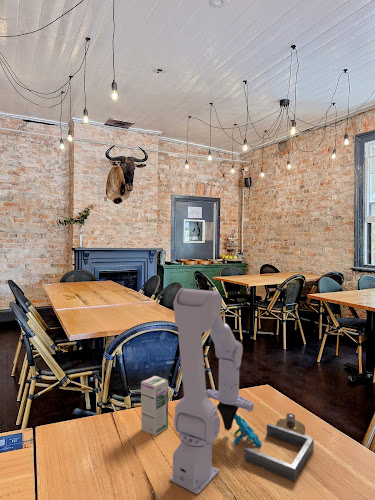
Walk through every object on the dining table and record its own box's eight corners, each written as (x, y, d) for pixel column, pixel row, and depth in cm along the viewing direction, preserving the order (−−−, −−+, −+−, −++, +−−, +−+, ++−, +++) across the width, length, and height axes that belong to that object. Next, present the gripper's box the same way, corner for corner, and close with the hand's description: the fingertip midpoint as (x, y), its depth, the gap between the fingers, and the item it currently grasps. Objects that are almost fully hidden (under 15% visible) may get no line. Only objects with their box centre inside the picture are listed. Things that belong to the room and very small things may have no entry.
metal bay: (294, 481, 79) (294, 469, 79) (244, 461, 87) (244, 449, 86) (313, 449, 92) (313, 438, 92) (268, 433, 99) (268, 423, 99)
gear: (266, 450, 88) (239, 420, 89) (250, 466, 88) (223, 437, 89) (259, 432, 99) (234, 405, 100) (244, 446, 99) (220, 420, 100)
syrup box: (155, 436, 97) (155, 386, 96) (140, 429, 100) (140, 380, 100) (168, 428, 101) (168, 379, 101) (153, 421, 105) (154, 374, 105)
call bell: (299, 443, 94) (300, 425, 94) (272, 434, 99) (272, 416, 99) (308, 430, 101) (308, 414, 100) (282, 422, 105) (282, 406, 105)
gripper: (258, 383, 97) (257, 430, 97) (214, 371, 105) (213, 415, 105) (247, 392, 91) (246, 442, 91) (201, 378, 99) (201, 425, 100)
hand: (228, 428), depth 98 cm, fingers closed
